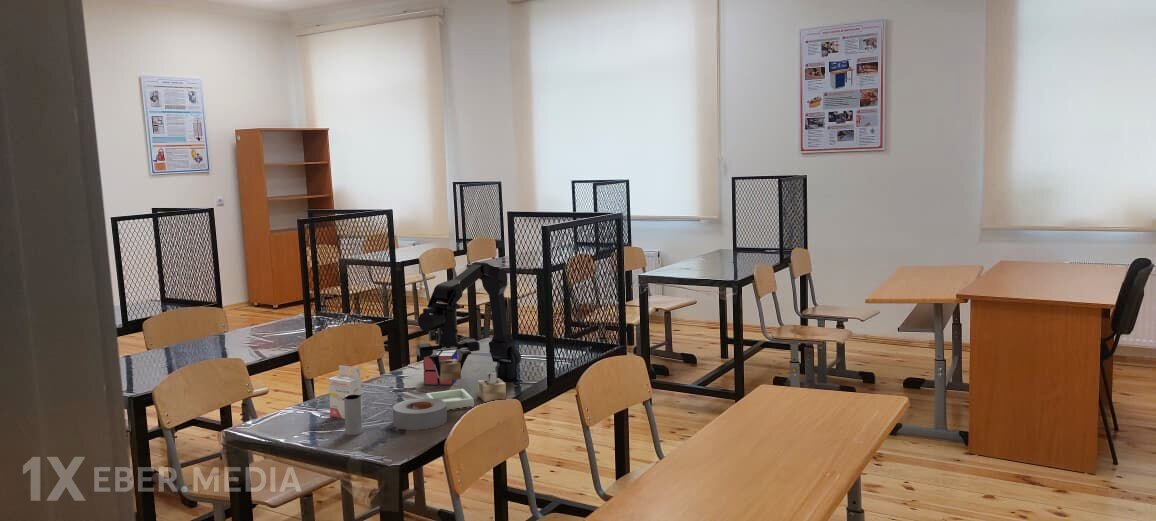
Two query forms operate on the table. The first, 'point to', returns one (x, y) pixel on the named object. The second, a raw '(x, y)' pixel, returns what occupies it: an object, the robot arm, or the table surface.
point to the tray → (453, 398)
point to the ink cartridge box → (343, 389)
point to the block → (449, 370)
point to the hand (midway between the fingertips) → (449, 374)
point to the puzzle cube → (430, 370)
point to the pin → (491, 378)
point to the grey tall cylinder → (353, 414)
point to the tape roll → (419, 414)
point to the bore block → (491, 390)
